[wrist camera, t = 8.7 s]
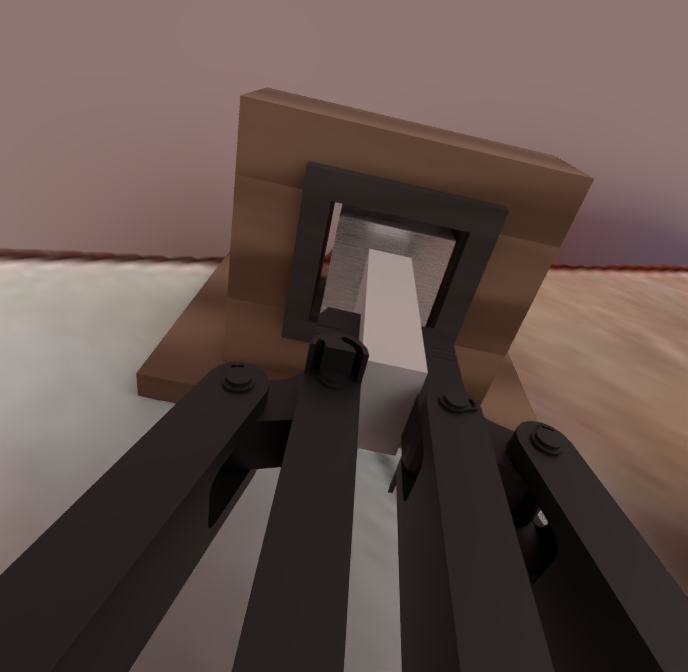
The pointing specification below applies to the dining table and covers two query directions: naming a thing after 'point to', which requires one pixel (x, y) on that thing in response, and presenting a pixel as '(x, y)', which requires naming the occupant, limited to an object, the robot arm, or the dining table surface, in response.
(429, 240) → the steel peg
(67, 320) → the dining table surface
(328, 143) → the wooden square hole stand
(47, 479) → the dining table surface
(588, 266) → the dining table surface
